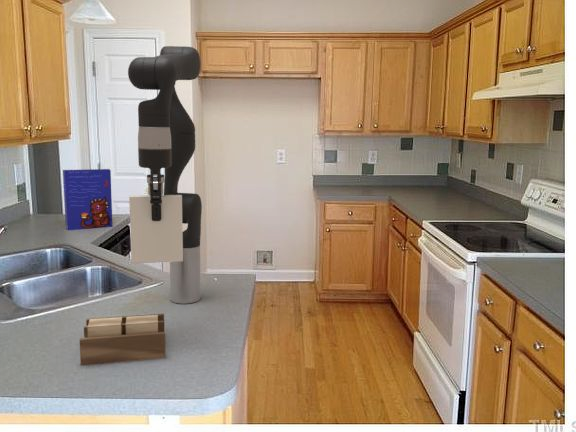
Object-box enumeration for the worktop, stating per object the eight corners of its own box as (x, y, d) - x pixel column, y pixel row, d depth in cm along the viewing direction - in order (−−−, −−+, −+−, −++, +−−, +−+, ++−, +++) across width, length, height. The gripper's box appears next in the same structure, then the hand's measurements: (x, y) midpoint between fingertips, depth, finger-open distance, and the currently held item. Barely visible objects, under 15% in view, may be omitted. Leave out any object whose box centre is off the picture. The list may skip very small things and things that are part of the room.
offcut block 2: (127, 349, 119) (126, 316, 117) (158, 346, 121) (157, 314, 119) (126, 357, 114) (125, 324, 113) (158, 354, 116) (157, 321, 115)
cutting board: (132, 260, 123) (129, 195, 120) (182, 258, 126) (181, 194, 123) (131, 263, 120) (129, 197, 117) (183, 261, 123) (181, 196, 120)
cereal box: (109, 224, 270) (107, 168, 265) (112, 226, 265) (110, 169, 260) (65, 228, 258) (62, 169, 253) (67, 230, 253) (64, 170, 248)
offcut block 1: (91, 352, 117) (89, 319, 115) (123, 349, 118) (122, 317, 117) (88, 360, 112) (87, 326, 111) (122, 358, 114) (120, 324, 113)
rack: (88, 346, 123) (86, 318, 121) (164, 340, 127) (163, 313, 126) (80, 370, 111) (79, 340, 109) (165, 362, 115) (165, 333, 114)
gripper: (172, 148, 112) (173, 225, 115) (170, 145, 125) (172, 213, 129) (136, 148, 110) (139, 225, 114) (139, 145, 124) (141, 214, 127)
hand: (156, 219), depth 121 cm, fingers closed on cutting board, 2 cm apart
